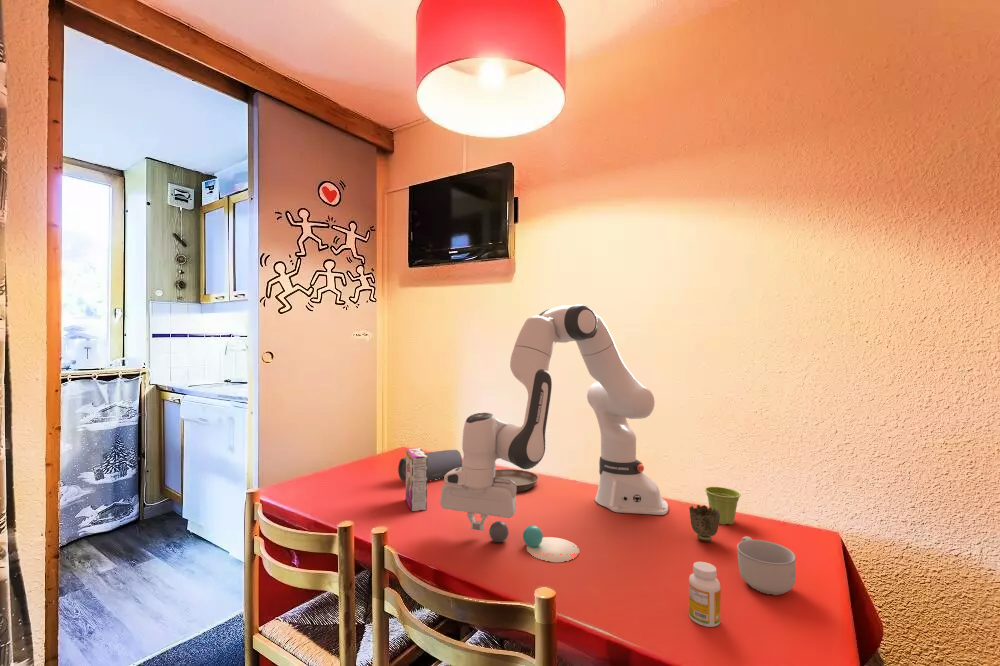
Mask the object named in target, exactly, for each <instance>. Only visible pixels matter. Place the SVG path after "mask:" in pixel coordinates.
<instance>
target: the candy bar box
mask: <svg viewBox="0 0 1000 666" xmlns="http://www.w3.org/2000/svg"><path fill="white" fill-rule="evenodd" d="M425 453H426V452H424V450H422V448H421V447H417V448H416V447H415V448H406V449H405V457H406V482H405V501H406V503H407V505H408V508H409V509H410V511H411V512H412V511H416V512H419V511H418V510H422V511H427V510H428V509H427V508H428V506H427V505H428V503H427V501H428V497H427V496H428V482H427V458H428V457H427V456H426V454H425Z"/></svg>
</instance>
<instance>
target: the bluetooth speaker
mask: <svg viewBox="0 0 1000 666" xmlns="http://www.w3.org/2000/svg"><path fill="white" fill-rule="evenodd" d="M424 453H425V454H426V456H427V457H428V458H427V481H429V482H431V481H430V480H434V481H436V480H435V479H439V478H442V479H444V478H443V477H444V476H445V475H446V474H447V473H448V472H449V471H451V470H453V469H455V468H460V467H462V461H463V458H462V454H461V451H459V450H458V449H447V450H439V451H430V452H424ZM397 473H398V477H399V479H400V480H401V481H402V482H403V483H406V456H405V457H403V458H401V459H399V462H398V467H397ZM439 480H440V479H439Z"/></svg>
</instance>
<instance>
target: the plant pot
mask: <svg viewBox="0 0 1000 666" xmlns="http://www.w3.org/2000/svg"><path fill="white" fill-rule="evenodd" d="M704 491H705V493H706V496H707V501H708V509H709V508H710V507H711V508H712V511H713V509H716V511H717V510H718V512H720V519H719V524H720V525H724V526H725V525H733V524H735V519H736V511H737V506H738V503H739V499H740V497H741V493H740V492H739V491H737V490H735V489H732V488H727V487H722V486H706V487H705V488H704Z"/></svg>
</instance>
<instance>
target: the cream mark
mask: <svg viewBox="0 0 1000 666" xmlns="http://www.w3.org/2000/svg"><path fill="white" fill-rule="evenodd" d="M573 546H574V547H573ZM577 547H578V546H577V545H576V544H575V543H574V542H572V541H569V540H567V539H564V538H560V537H552V536H543V539H542V542H541V544H540V545H539V546H537V547H530V546H528V545H527V544H526V551H527V553H528V552H529V553H530V554H531V555H532V556H531V555H530V554H529V553H528V554H529V555H530V556H531V557H533V556H534V557H533V558H535V557H536V558H535V559H537V558H538V559H537V560H539V559H541V560H540V561H542V560H545V561H544V562H547V561H551V562H550V563H565V562H564V561H567V562H570V561H569V560H571V559H572V558H573V560H575V559H574V556H573V555H572V554H574V553H575V554H576V553H579V554H580V549H579V547H578V548H577ZM540 553H541V554H540ZM543 553H544V554H543ZM548 553H549V554H548ZM535 554H538V555H535ZM542 554H543V555H545V554H548V555H547V556H546V555H545V556H546V557H545V556H543V555H542ZM550 554H551V555H550ZM553 554H554V555H553ZM560 554H562V555H560ZM567 554H568V555H567ZM570 554H571V555H572V556H573V557H572V556H571V555H570ZM552 555H553V556H552ZM543 557H544V558H543ZM571 557H572V558H571ZM571 561H572V560H571Z"/></svg>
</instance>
